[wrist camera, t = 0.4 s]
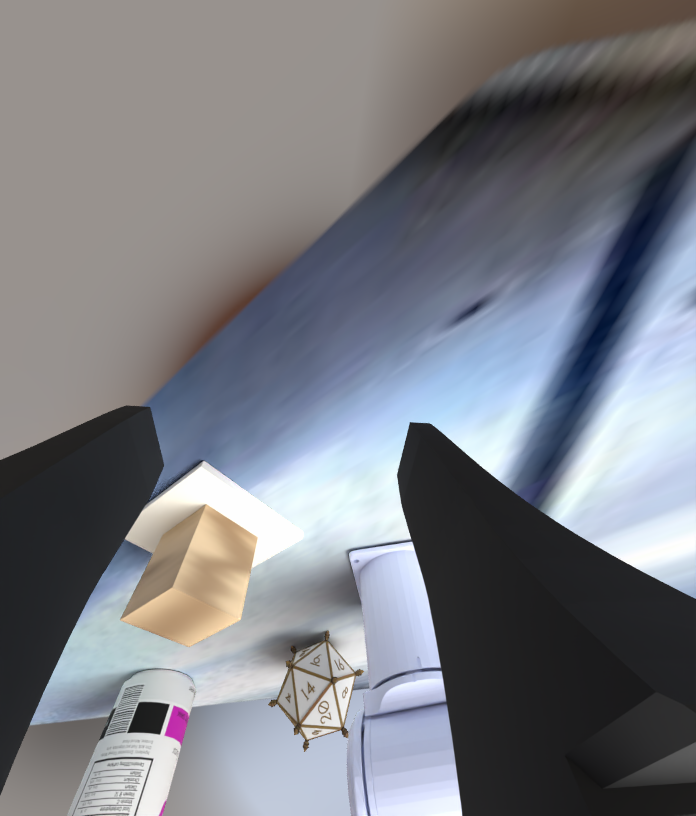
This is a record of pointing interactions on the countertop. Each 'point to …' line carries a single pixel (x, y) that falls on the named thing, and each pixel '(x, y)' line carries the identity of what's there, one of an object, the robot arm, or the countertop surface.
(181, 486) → the tile
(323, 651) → the game die
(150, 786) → the supplement can
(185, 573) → the oak cube
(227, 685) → the countertop surface
